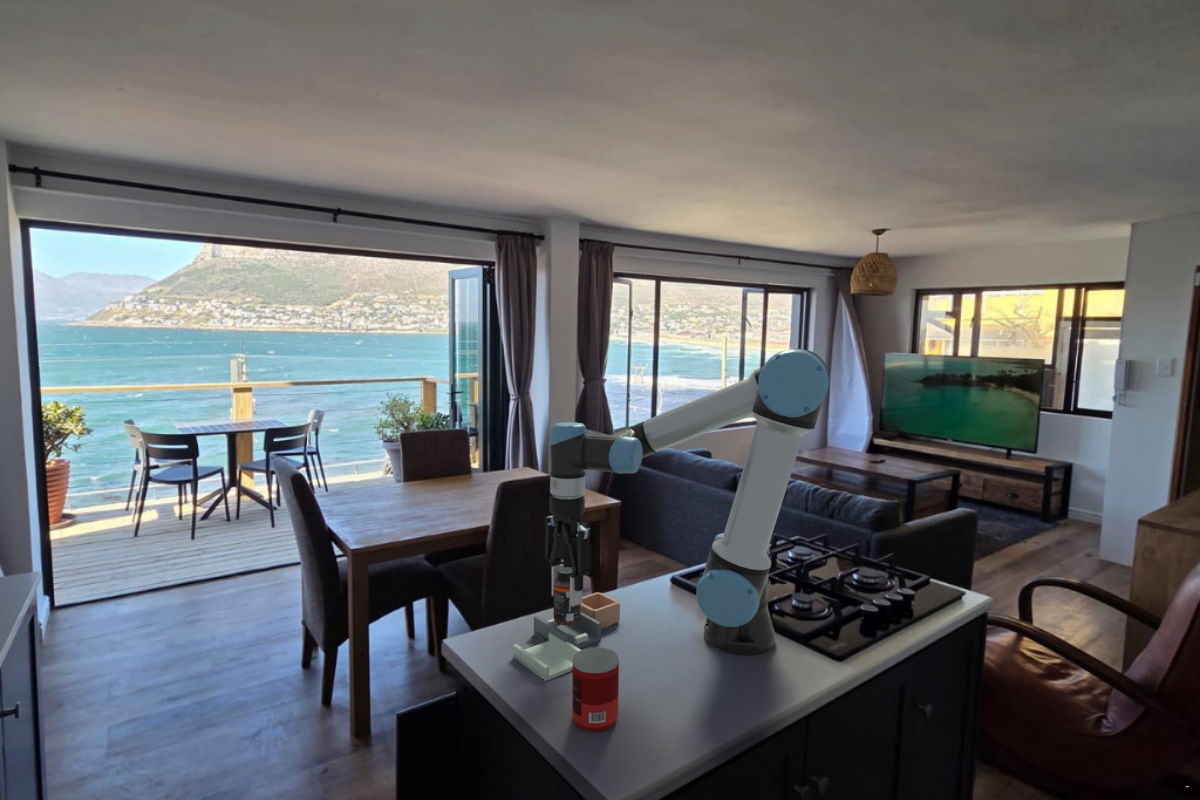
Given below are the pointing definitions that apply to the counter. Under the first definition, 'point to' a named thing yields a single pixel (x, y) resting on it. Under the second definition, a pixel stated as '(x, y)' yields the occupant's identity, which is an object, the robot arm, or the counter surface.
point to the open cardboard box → (601, 609)
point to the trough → (547, 657)
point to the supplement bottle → (564, 600)
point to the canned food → (595, 688)
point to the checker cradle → (570, 631)
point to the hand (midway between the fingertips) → (566, 598)
